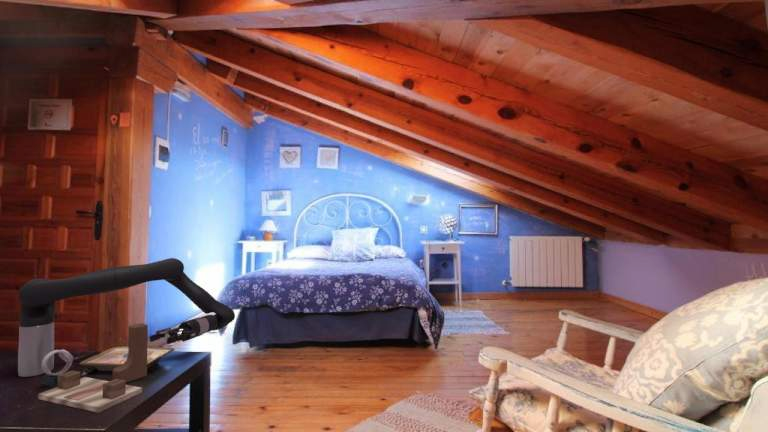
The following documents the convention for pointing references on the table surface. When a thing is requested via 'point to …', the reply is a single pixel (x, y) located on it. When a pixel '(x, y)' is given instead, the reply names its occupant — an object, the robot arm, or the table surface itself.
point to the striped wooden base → (89, 392)
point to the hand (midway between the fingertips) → (158, 340)
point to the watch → (52, 378)
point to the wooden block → (134, 355)
